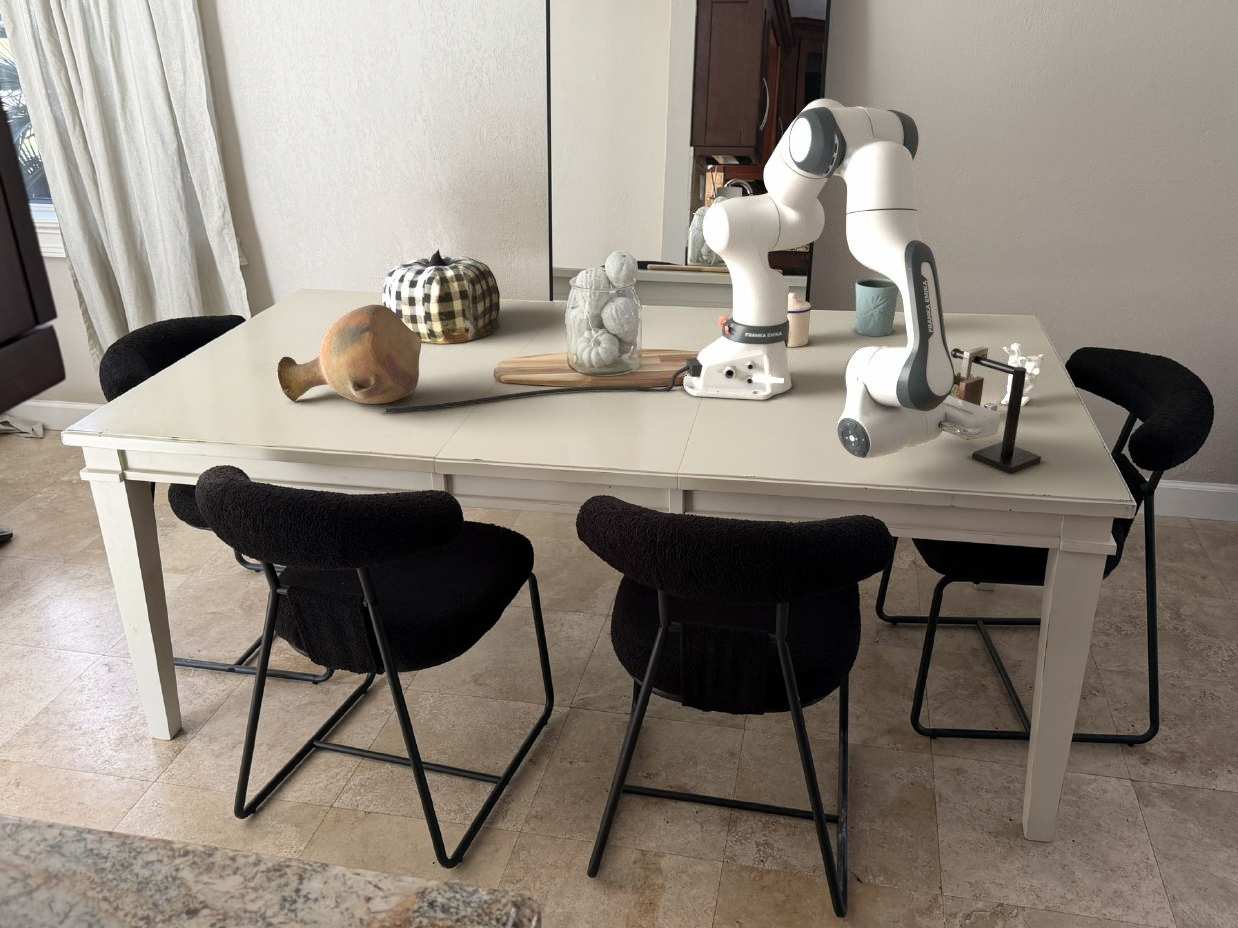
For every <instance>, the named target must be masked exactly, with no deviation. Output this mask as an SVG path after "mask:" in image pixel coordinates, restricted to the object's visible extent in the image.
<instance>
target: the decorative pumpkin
mask: <svg viewBox="0 0 1238 928" xmlns="http://www.w3.org/2000/svg"><path fill="white" fill-rule="evenodd" d="M500 294H501V293H500V290H499V286H498V283H497V280H496V277H495V275H494V273H493V271H492V270H491V269H490V267H489V266H488V265H487V264H485V263H483V262H481V261H478V260H476V259H474V258H471V257H468V256H457V257H456V256H455V257H451V256H446V255H441V252H440V248H438V249H437V250H436V251H435V253H433V254H432V255H431V257H427V258H417V259H412V260H410V261H407V262H406V263H402V264H400V265H396V266H394V267H393V268H392V269H391V270H390V271H389V272H388V274H387V276H386V277H385V280H384V284H383V286H382V299H381V303H382V306H386V307H388V308H390V309H391V310H392V311H394V312H395V313H396V314H397V315H398V316H399V318H400V319H401V320H402V322H403V323H404V324H405V325H407V326H408V327H409V328H410V329H411V330H412V331H413V332H415V333H416V334H417V335H418V336H419V338H420V340H421V343H427V344H428V343H429V344H443V345H447V344H459V343H465V342H468V341H472V340H477V339H480V338H483V337H486V336H488V335H491V333H493V332H494V331H495V330H496V329H497V321H498V318H499V315H500V311H501V304H500V303H501V301H500V300H501V299H500V298H501V295H500Z"/></svg>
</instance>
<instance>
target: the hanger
mask: <svg viewBox="0 0 1238 928" xmlns="http://www.w3.org/2000/svg"><path fill="white" fill-rule="evenodd" d="M988 354H989V347H987V346H979V347H976V348H972V349H968V350H965V351H964V357H963V360H962V365H961V372H960V373H961V377H965V378H968V377H970V374H972V373H971V372H972V366H973V363H972V359H973V357H977V356H981V357H984V358H987V359H988ZM984 383H985V377H983V378H982V376H979V375H978V377H976V376H975V377H974V378H972V379H968V380H965V381H962V382H960V388H959V396H958V399H961V400H964V401H967V402H970V403H973V404H976V405H979V406H982V405H981V404H982V397H983V391H984ZM962 439H964V438H962ZM964 440H967V441H970V439H964Z"/></svg>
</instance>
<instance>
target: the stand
mask: <svg viewBox="0 0 1238 928" xmlns="http://www.w3.org/2000/svg"><path fill="white" fill-rule="evenodd" d="M964 352H965V351H964V350H961V348H958V347H955V348H953V349H951V352H950V357H951V358H953V359H955V360H956V359H959V360H962V361H963V357H964ZM972 364H976V365H979V366H981V367H985V368H989V369H991V370H995V371H998V372H1002V373H1004V374H1007V375H1010V374H1011V375H1013V377H1012V384H1011V390H1010V397H1009V403H1008V404H1007V411H1006V418H1005V424H1004V430H1003V437H1002V441H1000V442H997V443H995V444H992V445H989V446H987V447H984V448H980V449H978V450H974V451H973V452H972V456H971V459H972V460H975V461H978V462H980V463H982V464H985V465H988V466H990V467H992V468H995V469H998V470H1000V471H1002V472H1004V473H1008V474H1011V475H1013V474H1014V473H1017V472H1020V471H1022V470H1025V469H1027V468H1030V467H1032V466H1035V465H1038V464H1040V463H1041V460H1042V456H1041V455H1038V454H1037V453H1034V452H1031V451H1028V450H1025V449H1023V448H1020V447H1018V446H1015V445H1016V439H1017V433H1018V427H1019V420H1020V415H1021V408H1022V406H1021V402H1022V396H1024V395H1023V389H1024V383H1025V377H1026V370H1027V369H1026V368H1023V367H1014V366H1011V365H1009V364H1007V363H1003V362H1001V361H997V360H993V359H990V358H988V357H987V358H984V357H981V356H977V357H973V359H972Z"/></svg>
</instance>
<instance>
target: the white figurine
mask: <svg viewBox="0 0 1238 928" xmlns="http://www.w3.org/2000/svg"><path fill="white" fill-rule="evenodd" d="M1003 350H1004V351H1005V353H1007V354H1008V355H1009V358H1008V365H1011V366H1014V367H1023V368H1026V369H1027V370H1026V377H1025V383H1024V389H1023V396H1022V402H1021V407H1024V406H1025V405H1026V404H1027V403H1028V402H1030V400H1031V398H1030V397H1029V396H1026V395H1028V394H1030V393H1032V392H1034V391H1035V390H1036V388H1037V383H1036V381H1037V377H1038V375H1041V373H1042V371H1041V369H1042V367H1043V363H1044V360H1045V357H1046V354H1045V353H1040V354H1038V355H1028V356H1023V345H1022V344H1021V343H1019V342H1014V343H1012V344H1011V346H1010V348H1009V347H1008V346H1003ZM1012 377H1013V375H1011V374H1008V379H1007V385H1006V391H1007V393H1006V395H1005V396H1004V398H1002V400H1001V402H1000V404H1002V405H1008V403H1009V397H1010V390H1011V384H1012Z"/></svg>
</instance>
